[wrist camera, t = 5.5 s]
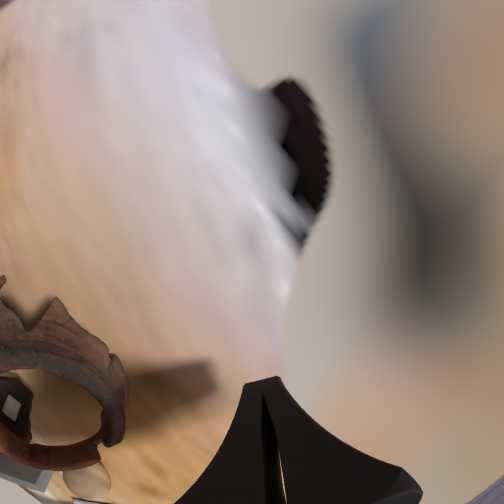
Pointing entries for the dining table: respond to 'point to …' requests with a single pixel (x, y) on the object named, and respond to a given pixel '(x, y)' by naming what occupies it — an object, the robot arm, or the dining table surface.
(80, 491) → the cork ball
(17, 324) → the pottery mug
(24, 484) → the corral
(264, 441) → the robot arm
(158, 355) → the dining table surface
